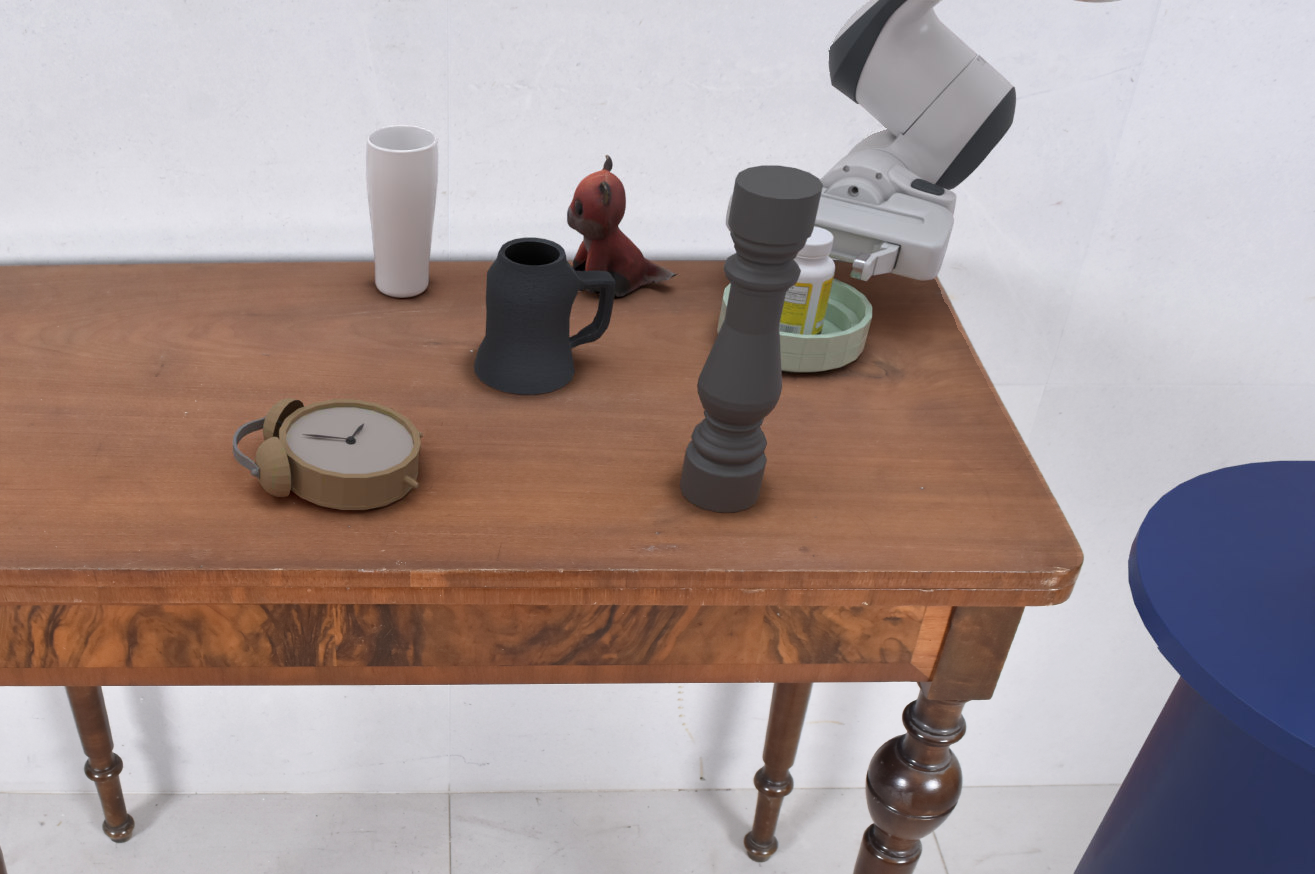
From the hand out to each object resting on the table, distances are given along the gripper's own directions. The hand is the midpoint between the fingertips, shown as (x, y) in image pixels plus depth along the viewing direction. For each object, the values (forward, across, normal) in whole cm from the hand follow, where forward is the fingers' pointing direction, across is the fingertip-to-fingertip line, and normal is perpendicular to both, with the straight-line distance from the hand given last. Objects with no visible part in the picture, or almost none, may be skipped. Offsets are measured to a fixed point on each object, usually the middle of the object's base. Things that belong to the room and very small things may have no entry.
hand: (808, 258), depth 115 cm
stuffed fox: (0, -18, +8) cm, 20 cm away
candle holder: (+27, +4, +8) cm, 28 cm away
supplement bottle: (+1, 0, +8) cm, 8 cm away
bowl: (+1, 0, +8) cm, 8 cm away
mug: (+18, -17, +8) cm, 26 cm away
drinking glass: (+12, -36, +8) cm, 39 cm away
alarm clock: (+42, -23, +8) cm, 48 cm away
